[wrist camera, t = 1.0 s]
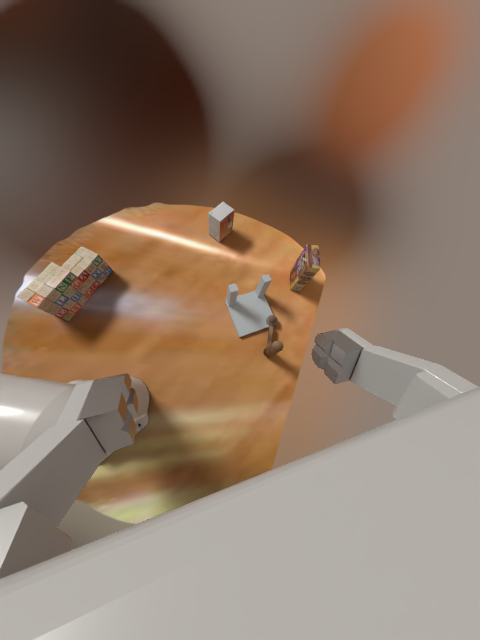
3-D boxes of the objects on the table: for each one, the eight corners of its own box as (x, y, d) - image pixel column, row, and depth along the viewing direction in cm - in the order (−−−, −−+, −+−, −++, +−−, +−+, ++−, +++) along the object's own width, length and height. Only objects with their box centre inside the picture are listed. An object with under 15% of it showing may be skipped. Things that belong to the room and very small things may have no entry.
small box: (219, 243, 79) (219, 222, 69) (208, 234, 79) (207, 212, 69) (232, 231, 81) (234, 209, 71) (222, 223, 82) (222, 200, 72)
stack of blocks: (98, 263, 70) (75, 238, 59) (113, 271, 70) (93, 248, 58) (52, 312, 63) (15, 296, 52) (68, 322, 63) (35, 307, 51)
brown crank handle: (267, 316, 70) (276, 304, 59) (276, 318, 70) (286, 306, 59) (263, 356, 65) (272, 350, 55) (272, 357, 65) (282, 352, 55)
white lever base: (261, 290, 74) (270, 272, 63) (277, 325, 70) (289, 313, 59) (225, 301, 71) (226, 284, 60) (239, 338, 67) (244, 328, 56)
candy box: (300, 291, 76) (320, 269, 61) (289, 290, 75) (307, 267, 61) (300, 271, 79) (319, 245, 64) (289, 269, 78) (306, 243, 64)
